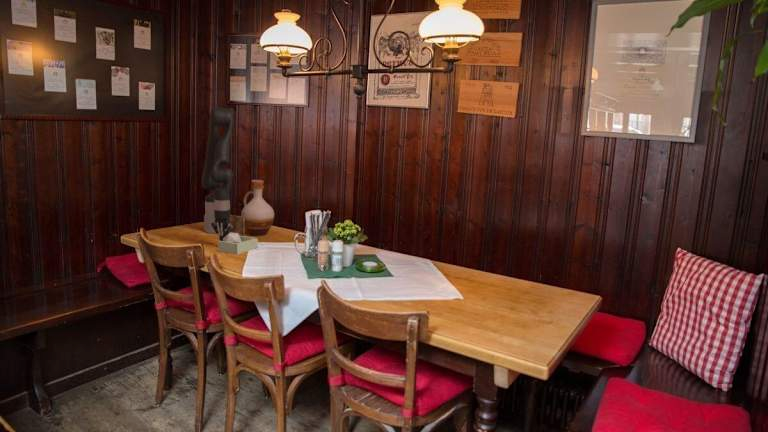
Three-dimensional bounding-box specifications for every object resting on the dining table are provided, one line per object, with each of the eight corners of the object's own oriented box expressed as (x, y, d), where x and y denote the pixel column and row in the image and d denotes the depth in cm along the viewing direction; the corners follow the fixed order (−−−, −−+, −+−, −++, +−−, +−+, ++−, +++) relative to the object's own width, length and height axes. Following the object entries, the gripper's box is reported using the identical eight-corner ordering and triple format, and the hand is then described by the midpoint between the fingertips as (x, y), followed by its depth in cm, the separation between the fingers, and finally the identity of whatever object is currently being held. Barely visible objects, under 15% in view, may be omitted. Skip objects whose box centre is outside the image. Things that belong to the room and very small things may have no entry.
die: (245, 249, 285) (240, 232, 289) (239, 244, 277) (235, 226, 281) (229, 254, 285) (225, 237, 289) (223, 250, 277) (219, 232, 280)
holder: (218, 251, 277) (218, 241, 277) (239, 245, 291) (239, 235, 290) (237, 254, 273) (237, 244, 272) (257, 247, 286) (257, 238, 285)
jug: (232, 234, 315) (231, 179, 310) (256, 229, 330) (255, 177, 324) (257, 239, 305) (257, 183, 299) (281, 234, 319) (281, 180, 314)
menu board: (222, 241, 297) (221, 215, 294) (228, 240, 301) (228, 213, 299) (240, 244, 292) (240, 217, 289) (247, 242, 296) (247, 216, 294)
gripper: (237, 209, 283) (238, 243, 286) (217, 205, 288) (217, 239, 292) (227, 211, 276) (227, 246, 280) (206, 208, 282) (207, 242, 285)
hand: (222, 242), depth 286 cm, fingers closed
